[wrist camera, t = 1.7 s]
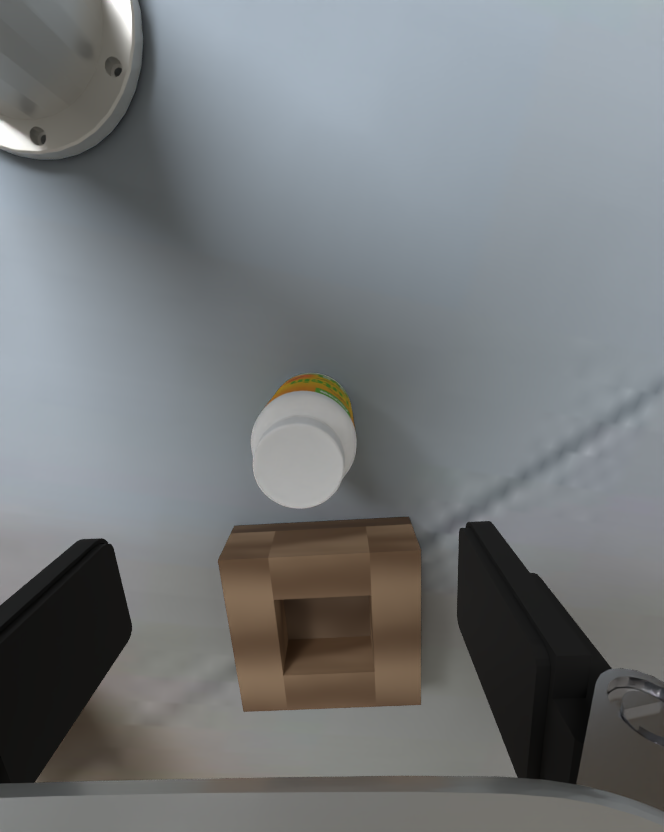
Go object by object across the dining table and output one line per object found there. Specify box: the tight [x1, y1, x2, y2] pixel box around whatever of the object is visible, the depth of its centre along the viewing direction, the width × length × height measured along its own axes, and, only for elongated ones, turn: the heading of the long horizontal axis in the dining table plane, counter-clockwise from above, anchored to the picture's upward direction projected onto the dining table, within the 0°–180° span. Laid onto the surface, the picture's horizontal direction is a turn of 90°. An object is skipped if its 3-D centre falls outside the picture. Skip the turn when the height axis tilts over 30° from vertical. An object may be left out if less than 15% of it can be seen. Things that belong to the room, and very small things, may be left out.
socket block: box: [218, 517, 421, 712], centre depth 27 cm, size 13×13×4 cm
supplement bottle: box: [251, 373, 357, 509], centre depth 20 cm, size 5×5×10 cm
